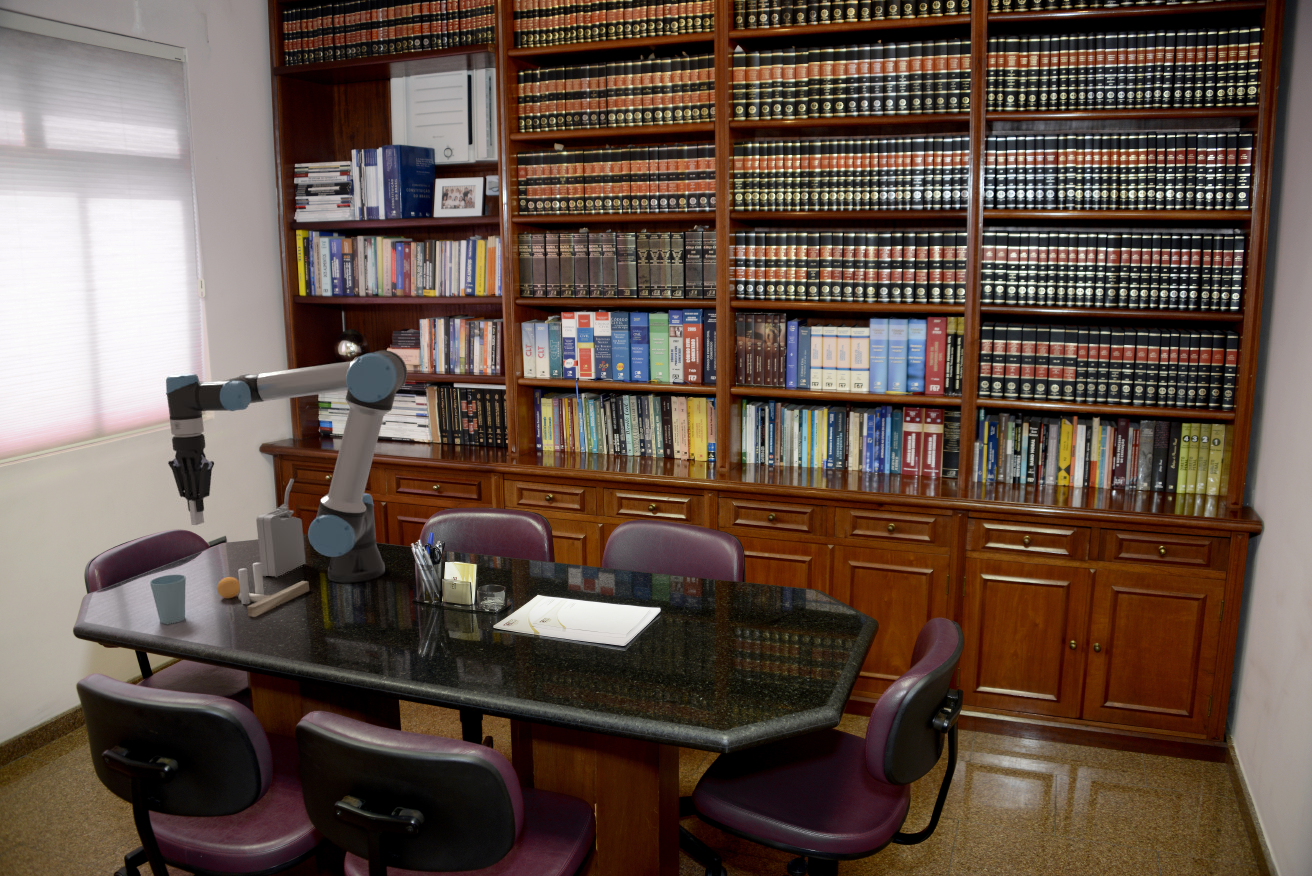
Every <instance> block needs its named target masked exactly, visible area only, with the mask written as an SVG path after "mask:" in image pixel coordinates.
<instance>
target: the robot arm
mask: <svg viewBox="0 0 1312 876" xmlns="http://www.w3.org/2000/svg"><path fill="white" fill-rule="evenodd" d="M407 377H408V368H407V365H406V363H405V360H403V358H402V357H401V356H400V355H399V354H397V353H396V352H393V351H391V350H385V349H384V350H383V349H381V350H377V351H373V352H368V353H365V354H363V355H360V356H359V355H358V356H355V357H354V359H353V360H352V361H351V360H350V361H345V362H335V363H329V364H321V365H315V366H307V367H300V368H299V367H298V368H291V369H285V370H276V371H270V372H262V373H256V374H255V373H254V374H243V375H239V376H237V377H233V378H228V379H226V380H225V379H224V380H218V381H200V379H199V376H198V375H197V374H195V373H177V374H172V375H169V376H167V377H166V380H165V385H166V387H165V388H166V392H165V395H166V399H167V407H168V415H169V424H170V431H171V435H173V436H172V437H171V442H172V449H173V451H175V455H174V456H175V457H174V458H173V459H171V460H169V461H168V462H167V463H168V466H169V467H170V469H171V470H172V474H173V477H174V481H175V483H176V486H177V487H176V488H177V490H178V494H179V496H180V497H181V498H184V499H186V501H187V502H186V503H187V510H188V512H189V514H190V521H191V522H190V524H191V526H198V525H201V524H203V523H205V520H204V519H205V518H204V512H205V506H204V505H205V504H204V499H205V498H207V497H209V496H210V493H211V483H212V482H211V481H212V470H213V468H214V467H215V462H214V461H213V460H208V459H207V458H206V454H205V452H204V451H205V450H204V449H205V448H206V439H205V438H206V437H205V434H204V432H205V430H204V421H203V420H204V419H203V412H217V411H219V412H221V411H222V412H223V411H229V412H236V411H242V410H246V409H247V408H249V405H250V404H254V403H264V402H268V401H276V400H283V399H284V400H285V399H292V398H299V397H307V396H315V395H323V394H331V393H338V392H346V391H347V392H346V395H345V401H346V403H347V405H348V406H349V409H348V413H347V419H346V422H345V425H344V429H343V433H342V437H341V442H340V446H339V449H338V455H337V457H336V458H337V459H336V462H335V466H334V471H333V473H332V479H331V481H330V485H329V491H328V493H327V494H326V495H324V496H323V497H321V499H320V501H319V506H318V510H317V513H316V517H315V518H314V519H313V521H311V523H310V525H309V528H308V532H307V537H308V541H309V543H310V545H311V546H312V547H313V549H314V550H315V551H316V552H317V553H319V554H320V555H322V556H325V557H330V559H329V564H328V567H327V578H328V579H329V581H332V582H335V583H343V584H345V583H358V582H359V583H360V582H365V581H370V580H373V579H377V578H379V577H381V576H382V575H383V574H385V572H386V569H385V568H386V567H385V561H384V560H383V559H382V556H381V552H380V551H379V548H378V546H377V537H376V536H377V535H376V521H375V504H374V500H373V496H372V495H371V493H366V491H365V490H366V486H367V483H368V479H369V475H370V471H371V467H372V463H373V460H374V455H375V451H376V448H377V443H378V439H379V436H380V431H381V428H382V424H383V419H384V416H385V415H386V414H388V413H389V412H392V409H393V404H394V402H395V397H396V394H397V392H398V391H399V390H401V388H402V387H403V386H404V385H405V383H406V380H407V379H408V378H407Z"/></svg>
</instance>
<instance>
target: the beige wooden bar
mask: <svg viewBox="0 0 1312 876" xmlns="http://www.w3.org/2000/svg"><path fill="white" fill-rule="evenodd" d="M309 584H310V583H309V581H307V580H306V581H305V580H301V581H300V582H297V583H295V584H293V585H291V586H288V587H287V588H284V589H282V590H280V591H278V592H276V593H274V594H271V596H269V597H267V598H265V599H262V600H260V601H258V602H253V603H252V604H250V605H247V616H248V617H253V618H255V617H258V616H260V615H262V614H264V613H266V612H268V611H271V610H273V609H274V608H277V607H279V606H280V604H281V605H284V604H285V603H287V602H289V601H290V600H293V599H295V598H297V597H299V596H301V595H303V594H305V593H307V592H309V591H310V585H309ZM276 606H277V607H276Z"/></svg>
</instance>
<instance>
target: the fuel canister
mask: <svg viewBox="0 0 1312 876" xmlns="http://www.w3.org/2000/svg"><path fill="white" fill-rule="evenodd" d="M294 481H295V479H294V478H290V479H289V482H288V484H287V486H286V489H285V493H284V499H283V500H284V503H283V504H280V506H278V507H277V508H275V510H273V511H270V512H267V513H263V514H259V515H258V516H257V517H256V532H257V540H258V541H257V542H258V549H259V550H258V551H259V561H260V562H259V563H261V569H262V577H266V576H275V577H274V578H277V577H276V576H279V575H281V574H283V573H285V572H287V571H290V570H292V569H294V568H296V567H298V566H300V565H303V564H305V565H306V551H305V541H304V531H303V530H304V529H303V521H302V519H301V518H300V517H299V518H298V517H295V516H292V515H293V514H294V512H295V511H294V510H290V508H289V498H290V497H289V495H290V492H291V490H292V486H293V484H294Z"/></svg>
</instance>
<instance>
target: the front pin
mask: <svg viewBox="0 0 1312 876" xmlns="http://www.w3.org/2000/svg"><path fill="white" fill-rule="evenodd" d="M249 595H250V602H253V603H256V602H258V601H260V600H262V599H265V598H267V597H269V596H271V595H272V594H271V595H270V594H269V595H268V594H264V595H262V594H256V593H250V592H249ZM238 600H239V601H241V592H239V593H238Z"/></svg>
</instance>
